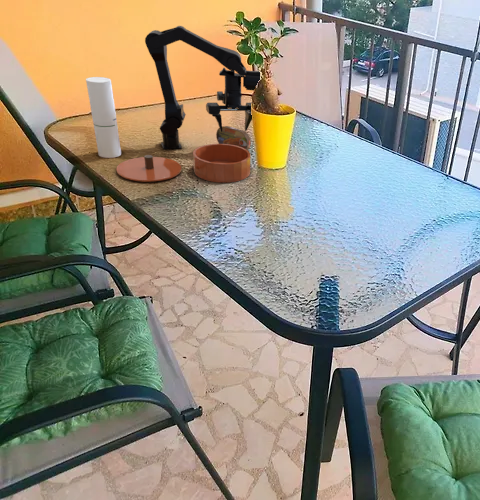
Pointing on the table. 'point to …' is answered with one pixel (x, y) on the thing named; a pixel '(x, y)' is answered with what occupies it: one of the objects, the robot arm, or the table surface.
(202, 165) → the pot
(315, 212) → the table surface
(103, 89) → the cylindrical container
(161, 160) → the lid
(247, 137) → the tin
